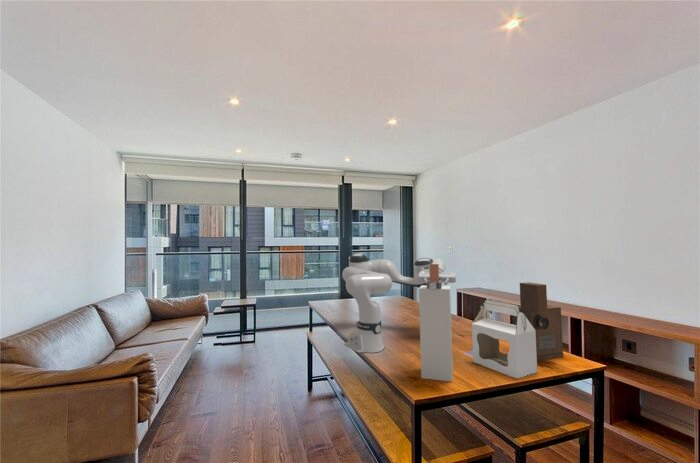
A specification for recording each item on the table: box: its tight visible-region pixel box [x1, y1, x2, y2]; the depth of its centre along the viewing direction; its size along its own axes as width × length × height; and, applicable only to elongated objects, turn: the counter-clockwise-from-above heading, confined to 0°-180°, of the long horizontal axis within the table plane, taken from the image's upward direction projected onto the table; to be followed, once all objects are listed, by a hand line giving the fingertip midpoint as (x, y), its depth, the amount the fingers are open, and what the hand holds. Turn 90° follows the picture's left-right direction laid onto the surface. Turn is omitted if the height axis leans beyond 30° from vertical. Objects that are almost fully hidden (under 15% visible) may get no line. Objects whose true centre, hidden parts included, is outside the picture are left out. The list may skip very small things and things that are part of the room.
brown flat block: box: [429, 264, 441, 291], centre depth 133 cm, size 26×4×10 cm, turn 161°
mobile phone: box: [463, 349, 473, 358], centre depth 156 cm, size 8×1×15 cm
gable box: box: [471, 299, 538, 380], centre depth 138 cm, size 22×13×28 cm, turn 28°
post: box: [418, 280, 454, 383], centre depth 131 cm, size 10×12×38 cm
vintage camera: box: [512, 282, 565, 363], centre depth 149 cm, size 19×14×35 cm
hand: (436, 283), depth 169 cm, fingers open, 8 cm apart
